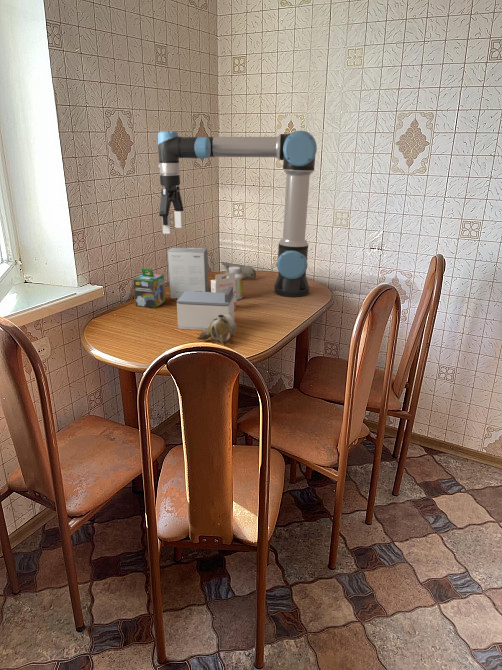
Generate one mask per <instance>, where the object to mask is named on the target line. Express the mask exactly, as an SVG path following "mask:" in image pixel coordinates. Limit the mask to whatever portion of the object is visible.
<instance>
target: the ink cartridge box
mask: <svg viewBox="0 0 502 670" xmlns="http://www.w3.org/2000/svg"><path fill="white" fill-rule="evenodd" d="M225 273H226V272H225ZM227 276H228V277H229V278H227ZM222 277H223V279H222ZM230 286H232V287H233V293H234V310H236V309H237V300H236V281H235V273H226V274H224V273H223V274H222V273H221V274H220V273H219V274H215V279H210V292H216V293H226V292H227V290H228V288H229V287H230Z"/></svg>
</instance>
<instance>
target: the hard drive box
mask: <svg viewBox="0 0 502 670" xmlns="http://www.w3.org/2000/svg"><path fill="white" fill-rule="evenodd" d="M166 255H167V269H168V270H167V272H168V286H169V287H168V288H169V298H170V299H176V298H177V299H176V300H178V299H179V298H180V297H181V295H182V294H183V293H184V292H185V291H194V292H210V284H209V283H210V282H209V260H208V259H209V258H208V247H171V248H170V249H168V250H167V251H166Z"/></svg>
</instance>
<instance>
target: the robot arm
mask: <svg viewBox="0 0 502 670" xmlns="http://www.w3.org/2000/svg"><path fill="white" fill-rule="evenodd" d="M317 147H318V146H317V141H316V139H315V138H314V136H313V135H312V134H311V133H310V132H308V131H306V130H296V131H293V132H291V133H280V134H279V135H278V136H179V133H178V131H175V130H173V131H172V130H169V131H168V130H167V131H166V130H163V131H162V130H161V131H158V133H157V148H158V149H157V150H158V151H157V152H158V162H159V163H158V166H157V167H158V168H159V174H160V175H159V182H160V185H161V186H163V187H164V188H161V190H160V195H161V196H160V203H159V215H158V216H159V217H161V222H162V223H161V224H162V234H163V235H165V234H166V235H167V234H169V235H170V234H171V222H170V216H169V214H170V210H171V205H172V206H173V208H174V212H173V214H174V215H173V216H174V228H176V229H177V228H178V229H182V228H183V222H182V220H183V218H182V212H184V205H183V201H182V195H181V191H180V185H181V176H180V173H181V172H180V170H181V169H180V159H200V160H202V159H209V158H277V159H278V160H279V161H283V162H282V171H284V173H285V174H286V178H285V179H286V182H285V194H284V195H285V196H284V211H283V213H284V215H283V232H282V238H280V240H279V241H278V247H277V249H278V251H277V260H276V267H277V268H276V269H277V271H278V276H277V277H276V281H275V283H274V287H273V292H274V294H276V295H278V296H281V297H288V298H296V297H297V298H298V297H303V296H304V297H305V296H307V295H309V294H310V286H309V281H308V279H307V278H308V277H307V269H308V255H309V254H308V253H309V243H308V240H307V239H306V232H307V230H306V228H307V214H308V202H309V201H308V200H309V189H310V177H311V174H313V173H314V171H315V168H316V167H315V164H316V154H317V149H318V148H317Z"/></svg>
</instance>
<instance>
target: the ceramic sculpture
mask: <svg viewBox="0 0 502 670" xmlns="http://www.w3.org/2000/svg"><path fill="white" fill-rule="evenodd" d="M237 326H238V325H237V323H236V320H235V317H234V318H233V316H232V315H231V313H230V312H228V313H227V314H225V315H218V316H217V317H216V319H214V320H213V321H212V322H211V323H210V324H209V327H208V328H207V329H204V330H201V332H200V334H199V336H198V337H197V338H196V339H197V340H199V341H200V340H201V341H206V340H209V339H210V338H211V339H212V340H214V341H217V340H218V342H220V343H221V344H223V345H224V344H227V343H229V342H230V339H231V337H232V335H233V334H234V333H236V330H237Z"/></svg>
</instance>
